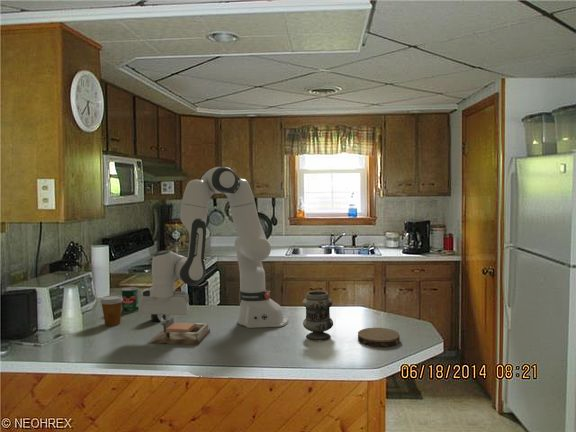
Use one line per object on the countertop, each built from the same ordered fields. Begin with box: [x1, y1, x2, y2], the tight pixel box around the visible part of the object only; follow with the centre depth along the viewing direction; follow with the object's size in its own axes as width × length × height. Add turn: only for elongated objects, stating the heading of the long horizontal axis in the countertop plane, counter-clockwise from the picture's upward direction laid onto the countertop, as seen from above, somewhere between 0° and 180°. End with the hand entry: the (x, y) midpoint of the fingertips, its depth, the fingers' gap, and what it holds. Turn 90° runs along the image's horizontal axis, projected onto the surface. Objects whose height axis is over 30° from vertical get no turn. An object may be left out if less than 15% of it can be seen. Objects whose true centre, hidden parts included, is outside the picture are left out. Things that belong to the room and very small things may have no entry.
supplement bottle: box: [150, 314, 167, 322], centre depth 222 cm, size 7×7×12 cm
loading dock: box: [146, 322, 211, 346], centre depth 196 cm, size 21×15×5 cm
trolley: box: [162, 317, 195, 337], centre depth 195 cm, size 10×8×6 cm
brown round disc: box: [357, 327, 401, 349], centre depth 189 cm, size 16×16×3 cm
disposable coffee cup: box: [100, 294, 123, 327], centre depth 216 cm, size 10×10×12 cm
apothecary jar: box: [302, 290, 334, 342], centre depth 193 cm, size 12×12×18 cm
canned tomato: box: [121, 286, 140, 314], centre depth 238 cm, size 8×8×11 cm
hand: (164, 324), depth 196 cm, fingers closed
